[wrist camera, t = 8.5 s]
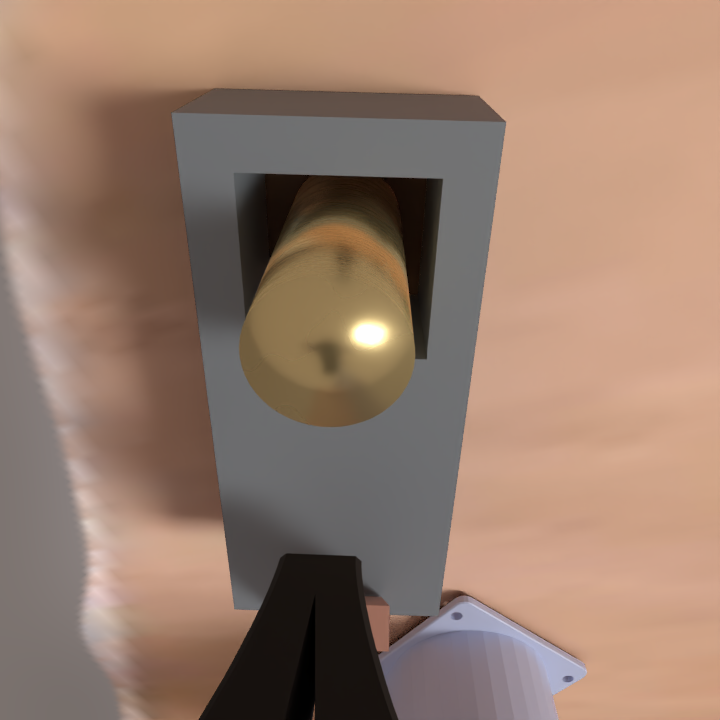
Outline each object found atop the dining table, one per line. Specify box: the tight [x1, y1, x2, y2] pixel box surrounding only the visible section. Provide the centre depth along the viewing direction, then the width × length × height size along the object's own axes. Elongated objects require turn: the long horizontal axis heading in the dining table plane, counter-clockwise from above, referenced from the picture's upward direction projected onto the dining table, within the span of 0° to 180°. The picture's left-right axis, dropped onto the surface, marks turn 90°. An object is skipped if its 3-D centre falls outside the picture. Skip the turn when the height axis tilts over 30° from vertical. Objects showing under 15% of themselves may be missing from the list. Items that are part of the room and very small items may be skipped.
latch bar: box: [365, 596, 390, 652], centre depth 17 cm, size 6×3×1 cm
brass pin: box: [239, 175, 415, 427], centre depth 14 cm, size 3×3×8 cm
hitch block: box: [171, 89, 506, 616], centre depth 19 cm, size 16×7×4 cm, turn 179°
